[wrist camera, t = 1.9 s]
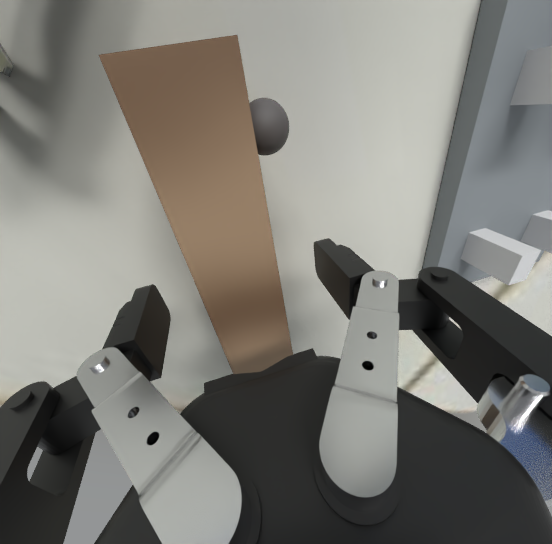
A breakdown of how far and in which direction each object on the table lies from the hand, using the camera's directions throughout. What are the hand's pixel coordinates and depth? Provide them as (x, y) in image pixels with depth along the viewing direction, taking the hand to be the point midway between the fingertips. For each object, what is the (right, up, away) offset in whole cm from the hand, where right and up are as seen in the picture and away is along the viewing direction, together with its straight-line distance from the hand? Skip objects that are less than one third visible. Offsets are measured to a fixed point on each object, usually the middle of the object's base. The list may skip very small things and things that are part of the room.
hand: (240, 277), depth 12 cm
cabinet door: (-1, +3, +4) cm, 5 cm away
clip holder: (+20, +9, +7) cm, 23 cm away
